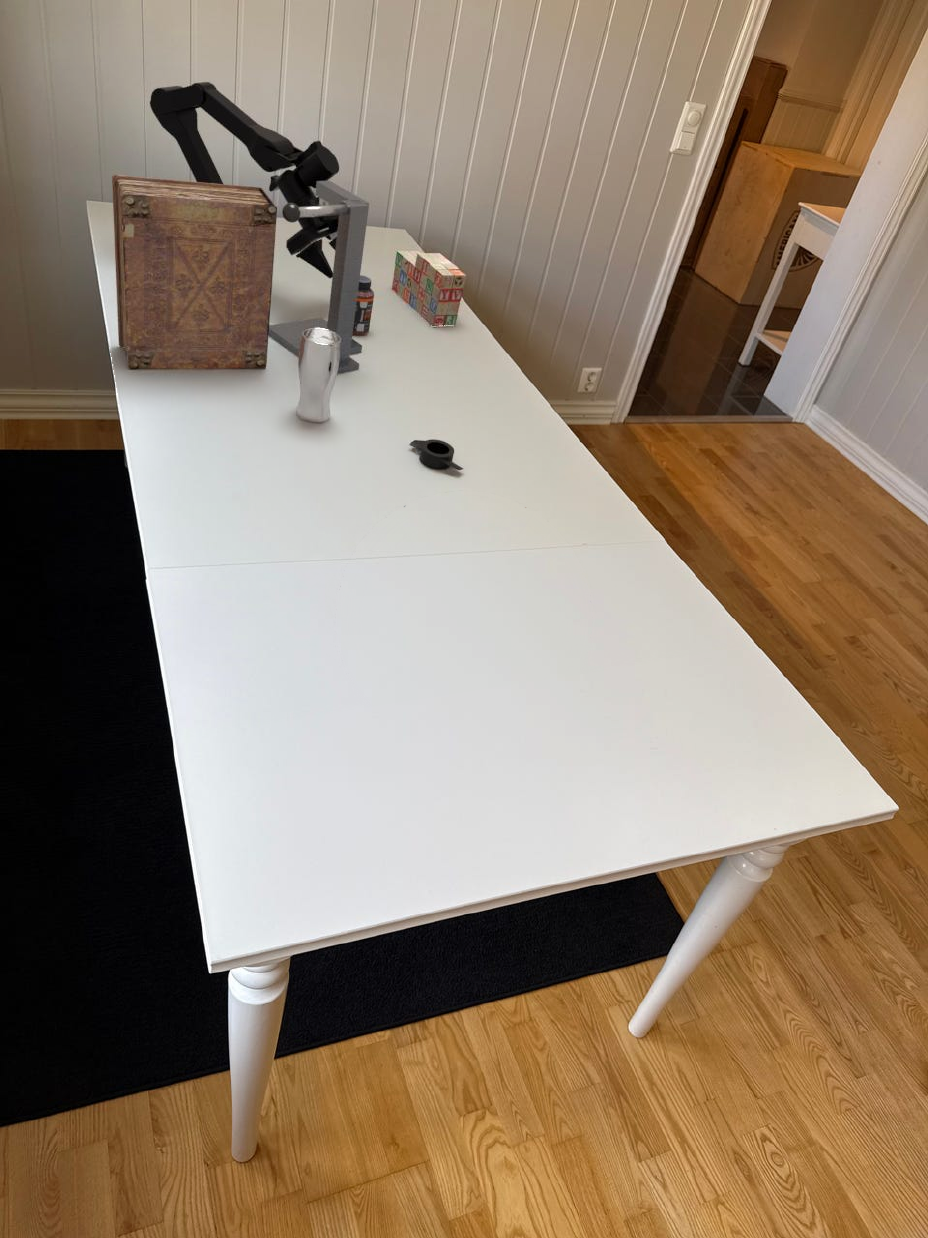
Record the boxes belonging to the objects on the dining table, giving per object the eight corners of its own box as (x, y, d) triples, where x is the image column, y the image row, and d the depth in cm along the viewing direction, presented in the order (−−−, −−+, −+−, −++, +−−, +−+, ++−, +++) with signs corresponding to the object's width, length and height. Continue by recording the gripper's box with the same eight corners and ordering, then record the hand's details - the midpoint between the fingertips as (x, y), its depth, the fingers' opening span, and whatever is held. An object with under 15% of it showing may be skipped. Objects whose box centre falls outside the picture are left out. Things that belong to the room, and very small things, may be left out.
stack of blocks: (390, 289, 212) (398, 237, 204) (413, 288, 215) (421, 237, 207) (432, 327, 200) (442, 274, 192) (456, 327, 203) (467, 274, 195)
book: (127, 369, 157) (119, 193, 138) (118, 346, 163) (110, 173, 144) (266, 369, 168) (277, 205, 149) (254, 347, 174) (263, 187, 155)
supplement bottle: (367, 338, 188) (374, 286, 180) (339, 332, 187) (345, 280, 180) (370, 327, 192) (377, 276, 185) (343, 321, 192) (349, 270, 184)
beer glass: (315, 428, 155) (324, 348, 145) (285, 412, 157) (292, 332, 147) (340, 416, 160) (350, 338, 150) (310, 401, 162) (318, 323, 152)
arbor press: (222, 339, 173) (227, 168, 153) (320, 323, 188) (337, 166, 168) (281, 385, 164) (295, 210, 144) (379, 365, 179) (404, 203, 159)
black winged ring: (446, 447, 160) (449, 433, 158) (464, 477, 153) (468, 463, 151) (406, 447, 157) (408, 433, 155) (423, 478, 150) (426, 463, 148)
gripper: (303, 186, 167) (347, 263, 172) (352, 172, 181) (391, 243, 186) (266, 216, 173) (309, 290, 178) (316, 200, 187) (355, 269, 192)
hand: (343, 272), depth 183 cm, fingers open, 9 cm apart
